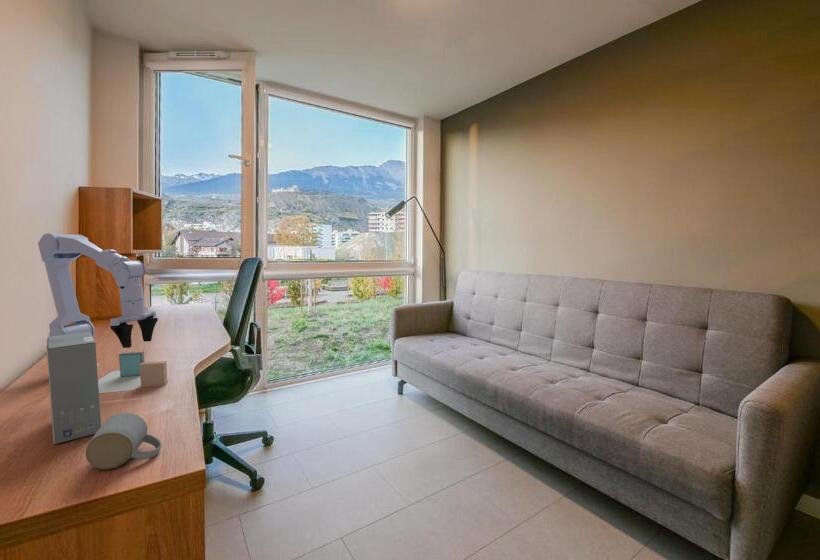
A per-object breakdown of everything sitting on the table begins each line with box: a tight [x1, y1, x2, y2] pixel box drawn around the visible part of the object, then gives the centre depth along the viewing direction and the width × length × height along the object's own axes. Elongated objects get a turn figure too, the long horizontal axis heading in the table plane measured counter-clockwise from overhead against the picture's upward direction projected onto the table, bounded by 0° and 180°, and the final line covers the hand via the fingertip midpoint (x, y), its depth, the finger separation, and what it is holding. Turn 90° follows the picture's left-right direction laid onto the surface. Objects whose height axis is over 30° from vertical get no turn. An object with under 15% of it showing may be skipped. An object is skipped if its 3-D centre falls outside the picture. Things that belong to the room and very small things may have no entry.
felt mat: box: [98, 370, 141, 394], centre depth 110 cm, size 20×14×1 cm
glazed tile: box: [118, 351, 145, 377], centre depth 114 cm, size 2×6×7 cm, turn 104°
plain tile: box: [140, 360, 169, 388], centre depth 106 cm, size 2×6×7 cm, turn 104°
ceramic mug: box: [85, 412, 163, 470], centre depth 70 cm, size 11×8×8 cm
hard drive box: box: [46, 332, 102, 445], centre depth 81 cm, size 16×8×20 cm, turn 44°
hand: (137, 344), depth 113 cm, fingers open, 7 cm apart
